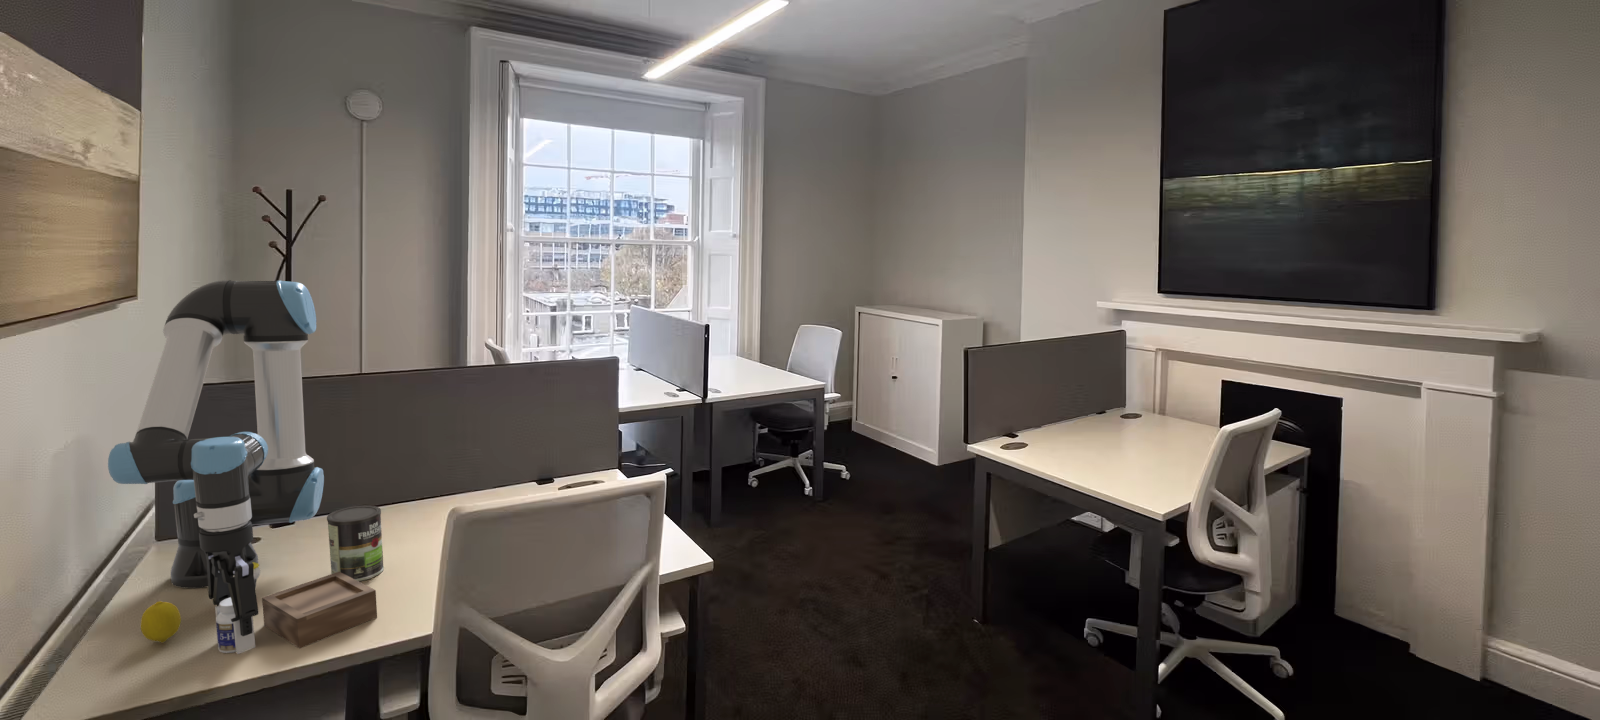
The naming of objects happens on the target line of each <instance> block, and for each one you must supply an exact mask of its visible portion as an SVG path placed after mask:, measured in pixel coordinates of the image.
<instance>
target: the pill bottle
mask: <svg viewBox="0 0 1600 720" xmlns="http://www.w3.org/2000/svg"><path fill="white" fill-rule="evenodd" d="M219 608H220V612H221V613H219V614H218V616H217V617H216V616H215V626H216V636H217V637H216V639H217V650H218V651H219V652H220V653H223V654H230V653H232V654H233V653H236V646H235V636H234V625H233V622H232V621H231V619H232V618H235V613H234V608H233V604H232V600H231V597H230V598H227V599H224V600H223V601H221V602H220V603H219Z"/></svg>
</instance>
